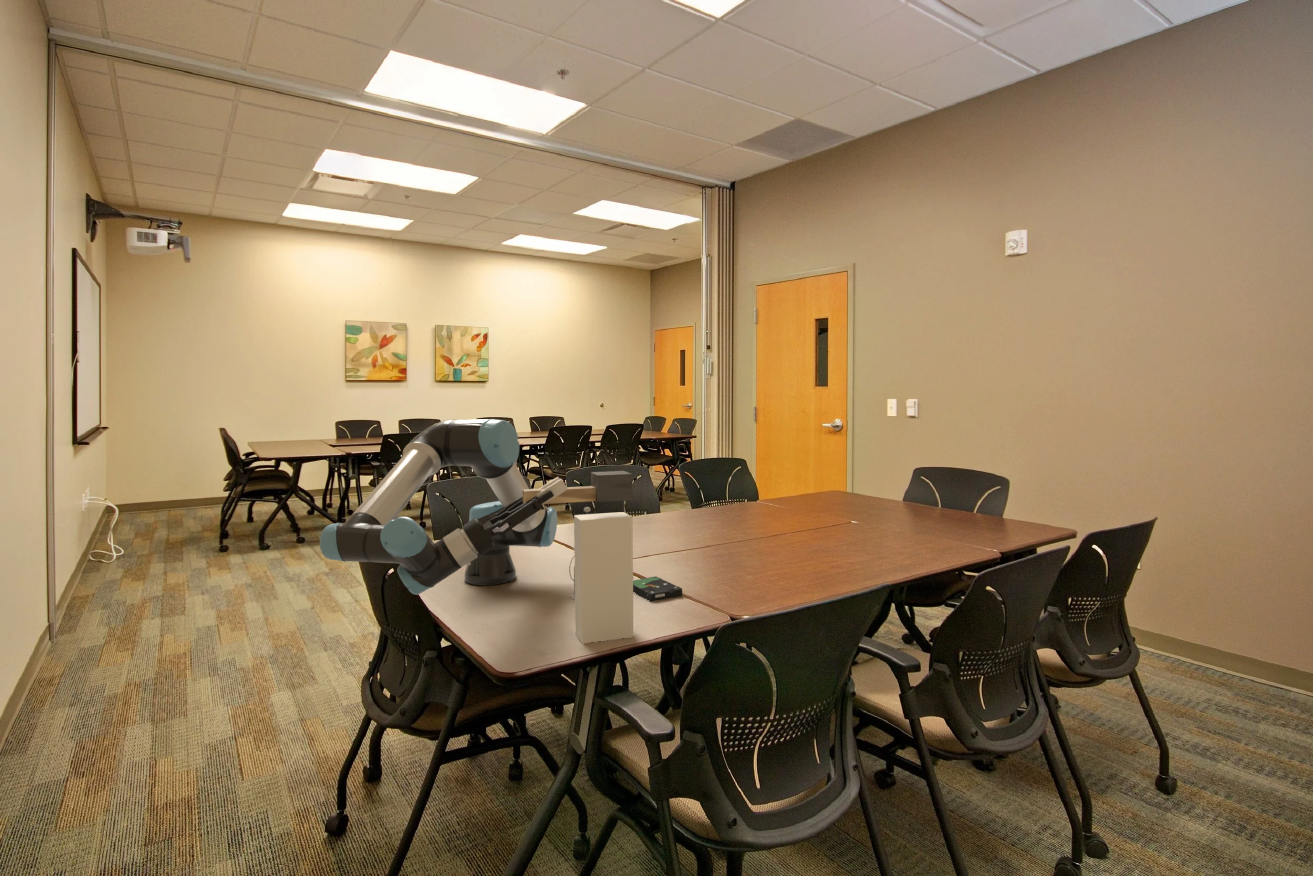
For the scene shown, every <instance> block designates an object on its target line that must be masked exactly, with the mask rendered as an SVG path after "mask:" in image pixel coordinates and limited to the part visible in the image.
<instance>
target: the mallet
mask: <svg viewBox="0 0 1313 876" xmlns="http://www.w3.org/2000/svg"><path fill="white" fill-rule="evenodd" d="M632 478H633V477H632V473H630V472H628V471H625V470H614V471H591V472H590V485H589V486H587V485H586V486H570V487H568V486H566V487H567V489H568V490H566V491H565V492H563V493H561V494H560V495H558V496H557V497H555V498H554V499H552V500H550V501H549V502H547V503H546V504H545V505H549V504H565V503H566V504H567V503H585V502H597V503H604V502H620V501H632V500H633V499H632V497H633V494H632V493H633V492H632V489H633V488H632V487H633V483H632V482H633V479H632ZM545 489H546V488H545ZM542 490H544V489H539V488H531V489H530V488H529V489H525V490H523V504H524V503H525V502H527V501H529V500H530V499H532V498H533V497H536V494H538V493H539V492H541V491H542Z"/></svg>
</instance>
